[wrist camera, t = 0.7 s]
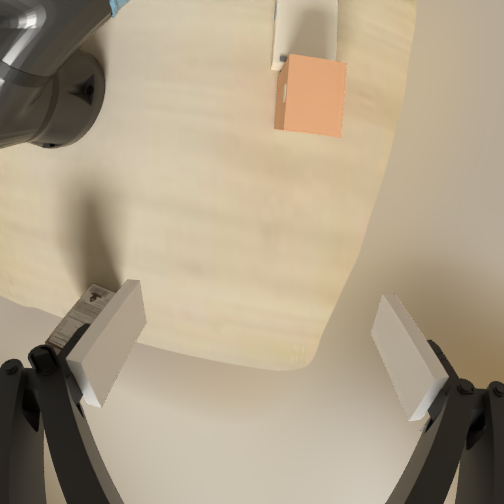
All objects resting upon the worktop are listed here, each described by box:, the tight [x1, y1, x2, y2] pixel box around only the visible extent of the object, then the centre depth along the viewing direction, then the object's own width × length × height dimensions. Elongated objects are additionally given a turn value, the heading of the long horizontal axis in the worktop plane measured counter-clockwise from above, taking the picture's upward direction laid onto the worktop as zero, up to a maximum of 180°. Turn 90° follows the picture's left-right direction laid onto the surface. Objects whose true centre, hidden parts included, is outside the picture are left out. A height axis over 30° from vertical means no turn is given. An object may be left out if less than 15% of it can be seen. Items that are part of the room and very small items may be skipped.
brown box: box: [274, 54, 347, 138], centre depth 27 cm, size 5×7×12 cm
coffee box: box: [45, 284, 116, 355], centre depth 39 cm, size 9×6×16 cm
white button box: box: [271, 0, 338, 71], centre depth 26 cm, size 7×12×5 cm, turn 176°
